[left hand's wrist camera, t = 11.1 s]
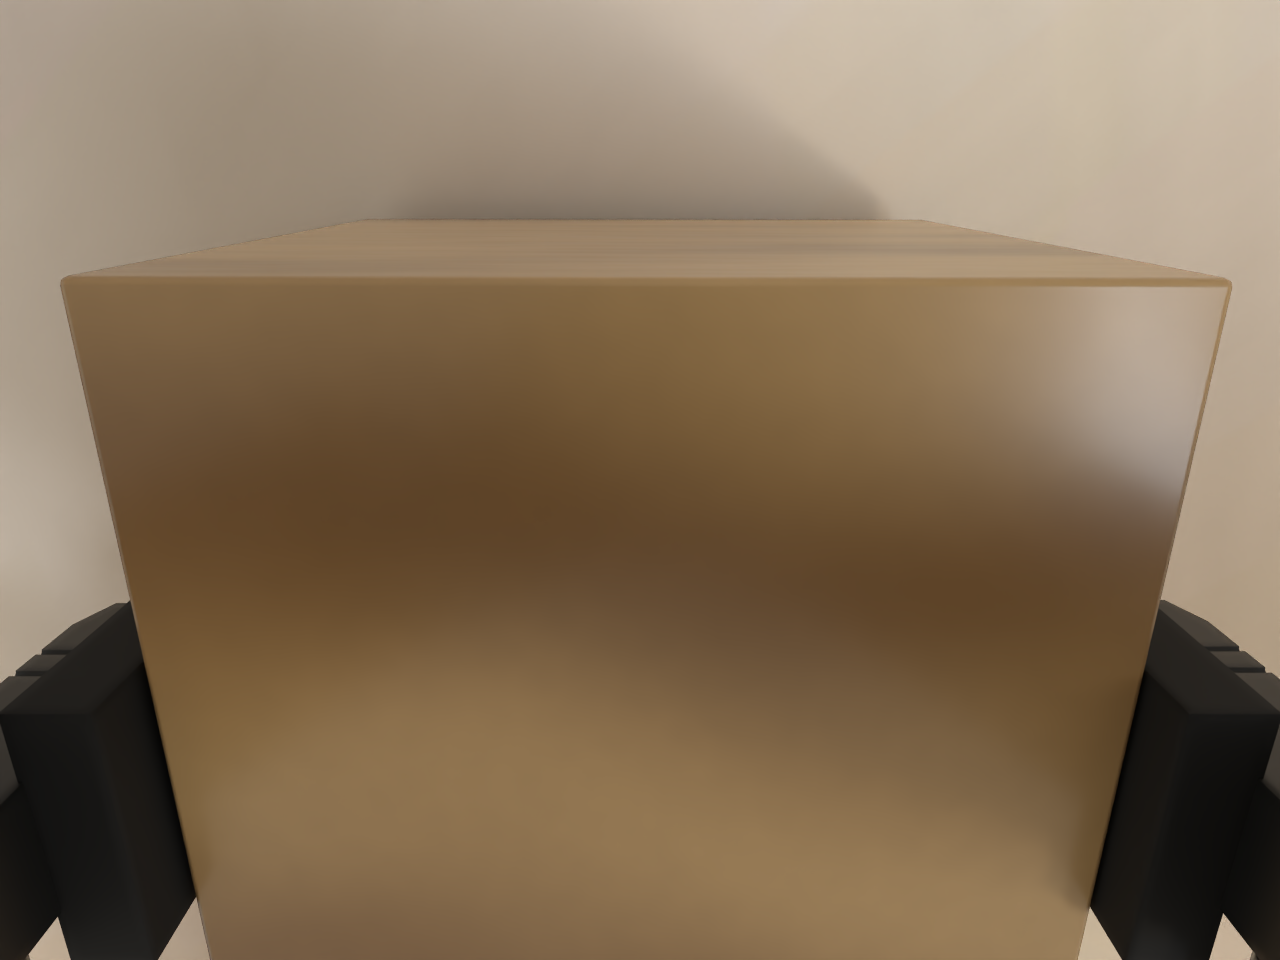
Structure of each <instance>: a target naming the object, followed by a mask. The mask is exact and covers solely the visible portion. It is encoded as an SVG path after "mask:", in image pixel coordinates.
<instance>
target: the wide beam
mask: <svg viewBox="0 0 1280 960" xmlns="http://www.w3.org/2000/svg"><path fill="white" fill-rule="evenodd" d="M60 286H61V290H62V295H63V299H64V304H65V308H66V313H67V317H68V322H69V326H70V331H71V335H72V340H73V344H74V349H75V353H76V358H77V362H78V367H79V371H80V376H81V380H82V385H83V389H84V394H85V398H86V403H87V407H88V412H89V416H90V421H91V425H92V430H93V434H94V439H95V443H96V448H97V452H98V457H99V461H100V466H101V470H102V475H103V479H104V484H105V488H106V493H107V497H108V502H109V506H110V511H111V515H112V520H113V524H114V529H115V533H116V538H117V542H118V547H119V551H120V556H121V560H122V565H123V569H124V574H125V578H126V583H127V587H128V592H129V596H130V601H131V605H132V610H133V614H134V619H135V623H136V628H137V632H138V637H139V641H140V646H141V650H142V655H143V659H144V664H145V668H146V673H147V677H148V682H149V686H150V691H151V695H152V700H153V704H154V709H155V713H156V718H157V722H158V727H159V731H160V736H161V740H162V745H163V749H164V754H165V758H166V763H167V767H168V772H169V776H170V781H171V785H172V790H173V794H174V799H175V803H176V808H177V812H178V817H179V821H180V826H181V830H182V835H183V839H184V844H185V848H186V853H187V857H188V862H189V866H190V871H191V875H192V880H193V884H194V889H195V893H196V898H197V902H198V907H199V911H200V916H201V920H202V925H203V929H204V934H205V938H206V943H207V947H208V952H209V956H210V960H1078V955H1079V951H1080V947H1081V942H1082V938H1083V934H1084V929H1085V925H1086V921H1087V916H1088V912H1089V908H1090V903H1091V899H1092V895H1093V890H1094V886H1095V882H1096V877H1097V873H1098V868H1099V864H1100V860H1101V855H1102V851H1103V847H1104V842H1105V838H1106V834H1107V829H1108V825H1109V821H1110V816H1111V812H1112V808H1113V803H1114V799H1115V794H1116V790H1117V786H1118V781H1119V777H1120V773H1121V768H1122V764H1123V760H1124V755H1125V751H1126V747H1127V742H1128V738H1129V734H1130V729H1131V725H1132V721H1133V716H1134V712H1135V707H1136V703H1137V699H1138V694H1139V690H1140V686H1141V681H1142V677H1143V673H1144V668H1145V664H1146V660H1147V655H1148V651H1149V647H1150V642H1151V638H1152V634H1153V629H1154V625H1155V620H1156V616H1157V612H1158V607H1159V603H1160V599H1161V594H1162V590H1163V586H1164V581H1165V577H1166V573H1167V568H1168V564H1169V560H1170V555H1171V551H1172V547H1173V542H1174V538H1175V533H1176V529H1177V525H1178V520H1179V516H1180V512H1181V507H1182V503H1183V499H1184V494H1185V490H1186V486H1187V481H1188V477H1189V473H1190V468H1191V464H1192V459H1193V455H1194V451H1195V446H1196V442H1197V438H1198V433H1199V429H1200V425H1201V420H1202V416H1203V412H1204V407H1205V403H1206V399H1207V394H1208V390H1209V386H1210V381H1211V377H1212V372H1213V368H1214V364H1215V359H1216V355H1217V351H1218V346H1219V342H1220V338H1221V333H1222V329H1223V325H1224V320H1225V316H1226V312H1227V307H1228V303H1229V299H1230V294H1231V290H1232V284H1231V281H1230V280H1228V279H1225V278H1223V277H1218V276H1212V275H1207V274H1202V273H1196V272H1191V271H1186V270H1181V269H1175V268H1170V267H1165V266H1160V265H1154V264H1149V263H1144V262H1139V261H1133V260H1128V259H1123V258H1118V257H1112V256H1107V255H1102V254H1097V253H1091V252H1086V251H1081V250H1076V249H1070V248H1065V247H1060V246H1055V245H1049V244H1044V243H1039V242H1034V241H1028V240H1023V239H1018V238H1013V237H1007V236H1002V235H997V234H992V233H986V232H981V231H976V230H971V229H965V228H960V227H955V226H950V225H944V224H939V223H934V222H929V221H923V220H613V219H366V220H361V221H356V222H350V223H345V224H340V225H334V226H329V227H324V228H319V229H313V230H308V231H303V232H297V233H292V234H287V235H281V236H276V237H271V238H266V239H260V240H255V241H250V242H244V243H239V244H234V245H229V246H223V247H218V248H213V249H207V250H202V251H197V252H191V253H186V254H181V255H176V256H170V257H165V258H160V259H154V260H149V261H144V262H139V263H133V264H128V265H123V266H117V267H112V268H107V269H101V270H96V271H91V272H86V273H80V274H75V275H70V276H67V277H65V278H63V279H62V280H61V285H60Z"/></svg>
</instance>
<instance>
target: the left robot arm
mask: <svg viewBox="0 0 1280 960" xmlns="http://www.w3.org/2000/svg"><path fill="white" fill-rule="evenodd" d="M195 898H196V893H195V889H194V884H193V880H192V875H191V871H190V866H189V862H188V857H187V853H186V848H185V844H184V839H183V835H182V830H181V826H180V821H179V817H178V812H177V808H176V803H175V799H174V794H173V790H172V785H171V781H170V776H169V772H168V767H167V763H166V758H165V754H164V749H163V745H162V740H161V736H160V731H159V727H158V722H157V718H156V713H155V709H154V704H153V700H152V695H151V691H150V686H149V682H148V677H147V673H146V668H145V664H144V659H143V655H142V650H141V646H140V641H139V637H138V632H137V628H136V623H135V619H134V614H133V610H132V605H131V601H129V602H128V603H116V604H114V605H112V606H110V607H108V608H106V609H104V610H102V611H100V612H97V613H95V614H93V615H91V616H89V617H87V618H85V619H83V620H81V621H79V622H77V623H75V624H73V625H72V626H71V627H69V628H68V629H67V630H66V631H64V632H63V633H62V634H61V635H59V636H58V637H57V638H56V639H55V640H53V641H52V642H51V643H50V644H48V645H47V646H46V647H45V648H43V649H42V654H41V655H35V656H34V657H32V658H31V659H30V660H29V661H27V662H26V663H25V664H24V665H22V666H21V667H20V668H19V669H18V670H16V675H15V676H9V677H8V678H6V679H5V680H4V681H3V682H2V683H0V960H30V958H29V955H28V954H29V953H30V952H31V950H32V949H33V948H34V946H35V945H36V944H37V943H38V941H39V940H40V939H41V937H42V936H43V935H44V934H45V932H46V931H47V930H48V928H49V927H50V926H51V924H52V923H53V922H54V921H55V919H56V918H57V917H58V918H59V922H60V925H61V928H62V932H63V935H64V938H65V942H66V945H67V948H68V952H69V955H70V958H71V960H158V959H159V957H160V955H161V954H162V952H163V950H164V949H165V947H166V945H167V944H168V942H169V940H170V939H171V937H172V935H173V934H174V932H175V930H176V929H177V927H178V926H179V924H180V922H181V921H182V919H183V917H184V916H185V914H186V912H187V911H188V909H189V907H190V906H191V904H192V902H193V901H194V899H195ZM1090 907H1091V909H1092V911H1093V912H1094V914H1095V916H1096V917H1097V919H1098V921H1099V922H1100V924H1101V926H1102V927H1103V929H1104V931H1105V932H1106V934H1107V936H1108V937H1109V939H1110V940H1111V942H1112V944H1113V945H1114V947H1115V949H1116V950H1117V952H1118V954H1119V955H1120V957H1121V959H1122V960H1209V958H1210V955H1211V952H1212V948H1213V945H1214V942H1215V938H1216V935H1217V932H1218V928H1219V925H1220V922H1221V918H1222V915H1223V913H1224V915H1225V916H1226V917H1227V918H1228V920H1229V921H1230V922H1231V923H1232V925H1233V926H1234V927H1235V929H1236V930H1237V931H1238V932H1239V934H1240V935H1241V936H1242V938H1243V939H1244V940H1245V941H1246V943H1247V944H1248V945H1249V947H1250V948H1251V949H1252V950H1253V952H1252V955H1251V958H1250V960H1280V679H1279V678H1278V677H1276V676H1275V675H1274V674H1273V673H1266V672H1265V667H1264V666H1263V665H1261V664H1260V663H1259V662H1258V661H1256V660H1255V659H1254V658H1253V657H1251V656H1250V655H1249V654H1248V653H1246V652H1245V651H1239V646H1238V645H1237V644H1235V643H1234V642H1233V641H1232V640H1230V639H1229V638H1228V637H1227V636H1225V635H1224V634H1223V633H1222V632H1220V631H1219V630H1218V629H1217V628H1215V627H1214V626H1213V625H1212V624H1210V623H1209V622H1208V621H1206V620H1204V619H1202V618H1200V617H1198V616H1196V615H1194V614H1192V613H1190V612H1188V611H1185V610H1183V609H1181V608H1179V607H1177V606H1175V605H1173V604H1171V603H1169V602H1167V601H1165V600H1160V603H1159V607H1158V612H1157V616H1156V620H1155V625H1154V629H1153V634H1152V638H1151V642H1150V647H1149V651H1148V655H1147V660H1146V664H1145V668H1144V673H1143V677H1142V681H1141V686H1140V690H1139V694H1138V699H1137V703H1136V707H1135V712H1134V716H1133V721H1132V725H1131V729H1130V734H1129V738H1128V742H1127V747H1126V751H1125V755H1124V760H1123V764H1122V768H1121V773H1120V777H1119V781H1118V786H1117V790H1116V794H1115V799H1114V803H1113V808H1112V812H1111V816H1110V821H1109V825H1108V829H1107V834H1106V838H1105V842H1104V847H1103V851H1102V855H1101V860H1100V864H1099V868H1098V873H1097V877H1096V882H1095V886H1094V890H1093V895H1092V899H1091V903H1090Z"/></svg>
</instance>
